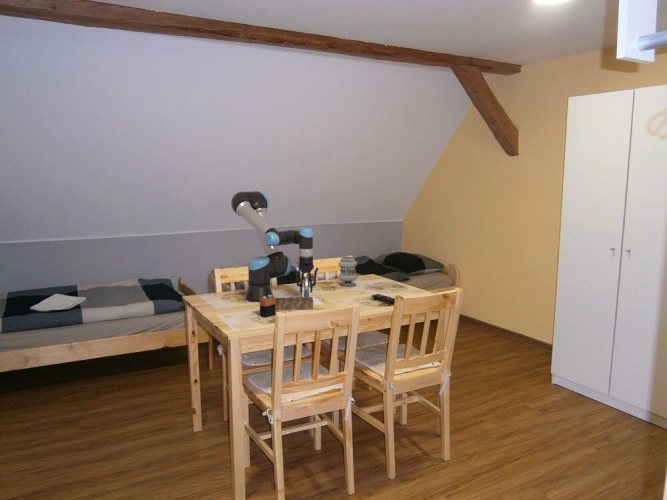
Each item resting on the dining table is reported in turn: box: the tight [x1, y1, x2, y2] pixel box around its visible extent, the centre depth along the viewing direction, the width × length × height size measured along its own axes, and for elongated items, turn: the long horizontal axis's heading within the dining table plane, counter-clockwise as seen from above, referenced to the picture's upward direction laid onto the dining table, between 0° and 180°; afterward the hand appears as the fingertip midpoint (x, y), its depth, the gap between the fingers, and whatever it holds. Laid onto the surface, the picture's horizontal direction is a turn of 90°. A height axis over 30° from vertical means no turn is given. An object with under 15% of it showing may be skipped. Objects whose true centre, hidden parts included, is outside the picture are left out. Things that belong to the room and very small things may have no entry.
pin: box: [303, 275, 310, 297], centre depth 271 cm, size 3×3×14 cm
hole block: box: [275, 296, 314, 311], centre depth 259 cm, size 24×9×4 cm, turn 95°
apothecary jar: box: [338, 256, 358, 288], centre depth 314 cm, size 12×12×18 cm
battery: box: [259, 295, 276, 319], centre depth 244 cm, size 4×7×10 cm, turn 140°
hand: (306, 298), depth 272 cm, fingers closed on pin, 3 cm apart
